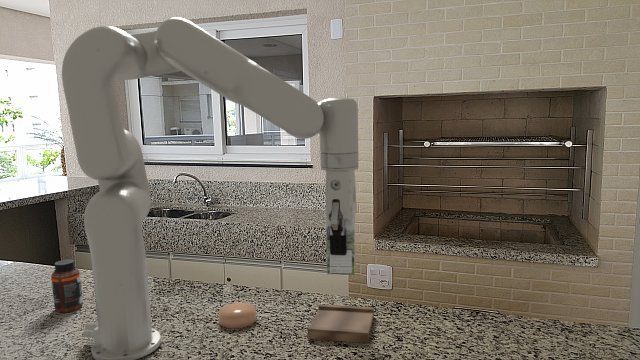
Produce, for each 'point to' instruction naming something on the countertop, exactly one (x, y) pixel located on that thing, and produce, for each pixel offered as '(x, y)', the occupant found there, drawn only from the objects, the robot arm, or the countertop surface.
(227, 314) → the peach smooth rounded part
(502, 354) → the countertop surface
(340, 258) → the syrup box
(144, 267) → the robot arm
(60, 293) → the supplement bottle
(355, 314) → the brown flat square block
